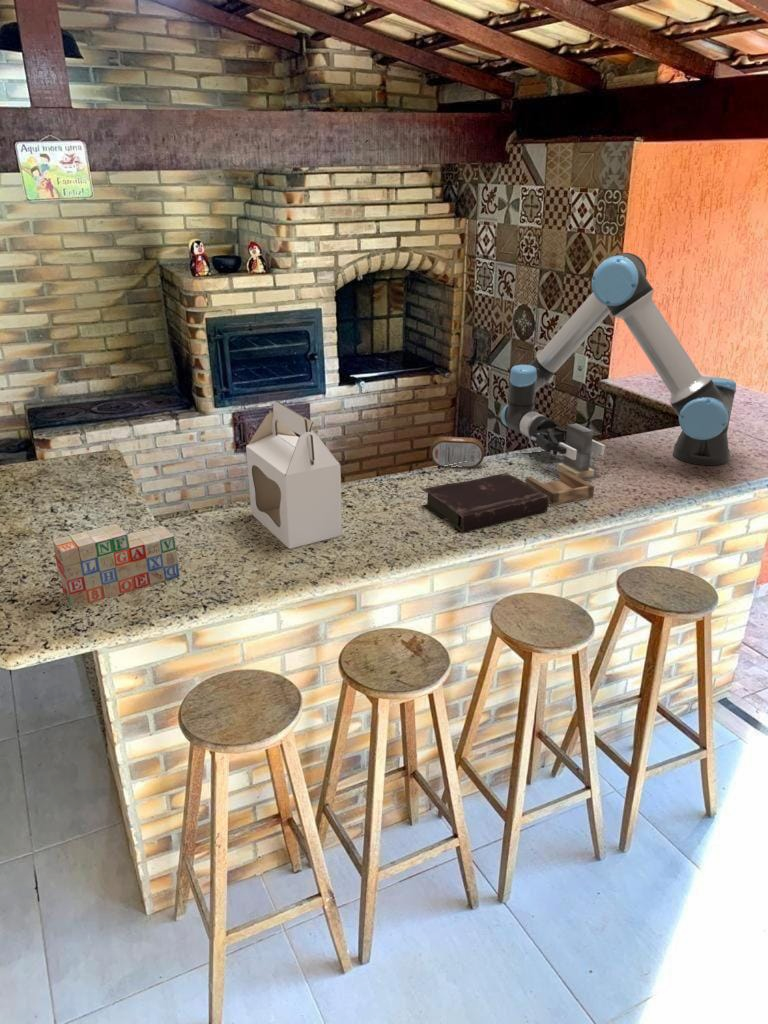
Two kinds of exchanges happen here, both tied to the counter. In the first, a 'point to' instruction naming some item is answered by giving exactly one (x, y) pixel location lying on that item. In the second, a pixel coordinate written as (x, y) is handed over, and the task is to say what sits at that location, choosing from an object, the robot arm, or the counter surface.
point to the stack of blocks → (113, 562)
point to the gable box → (293, 480)
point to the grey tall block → (578, 452)
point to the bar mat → (582, 479)
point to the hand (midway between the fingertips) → (589, 452)
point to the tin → (457, 451)
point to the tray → (563, 488)
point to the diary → (485, 501)
